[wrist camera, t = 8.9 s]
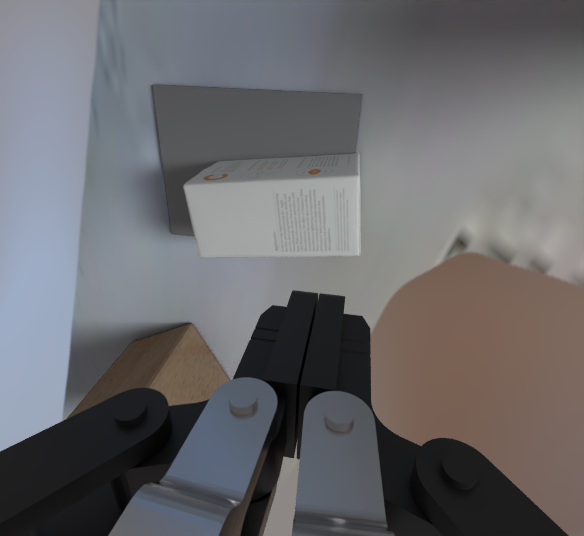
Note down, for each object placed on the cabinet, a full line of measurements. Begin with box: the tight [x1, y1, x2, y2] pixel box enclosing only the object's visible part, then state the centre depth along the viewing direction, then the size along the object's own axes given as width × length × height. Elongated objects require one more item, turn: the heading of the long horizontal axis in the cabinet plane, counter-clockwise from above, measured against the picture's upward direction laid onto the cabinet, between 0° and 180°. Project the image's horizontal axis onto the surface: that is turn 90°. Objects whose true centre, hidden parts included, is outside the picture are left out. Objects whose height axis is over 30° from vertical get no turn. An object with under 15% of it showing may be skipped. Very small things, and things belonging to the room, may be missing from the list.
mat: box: [152, 84, 362, 236], centre depth 34 cm, size 18×14×1 cm
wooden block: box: [67, 323, 230, 419], centre depth 39 cm, size 10×10×20 cm
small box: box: [183, 153, 360, 258], centre depth 31 cm, size 8×6×13 cm
